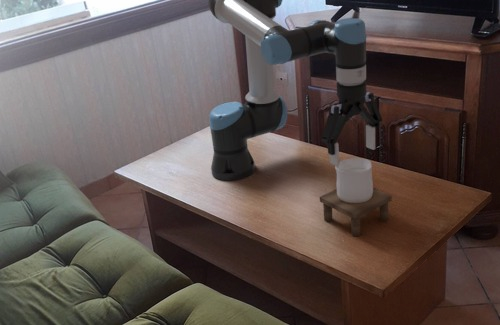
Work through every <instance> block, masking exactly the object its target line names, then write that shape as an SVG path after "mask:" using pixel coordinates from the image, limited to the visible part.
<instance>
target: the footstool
mask: <svg viewBox="0 0 500 325" xmlns="http://www.w3.org/2000/svg"><path fill="white" fill-rule="evenodd" d="M392 199H393V198H392V195H391V194H388V193H386V192H384V191H381V190H379V189H377V188H375V187H373V194H372V197H371V199H369V200H368V201H366V202H362V203H347V202H344V201H342V200H340V199H339V198H338V196H337V188H336V189H333V190H331V191H329V192H327V193H325V194H322V195H321V196H319V202H320V203H322V207H323V221H324V222H326V223H330V222H332V221H333V219H334V218H333V209H334V210H336V211H338V212H340V213H341V214H344V215H346V216H347V217H349V218H350V224H351V225H350V226H351V227H350V228H351V236H352V237H356V238H357V237H360V236H361V217H363V216H365V215H366V214H368V213H371V212H373V211H375V210H376V209H378V208H379V221H381V222H388V221H389V203H390V202H391V201H392Z"/></svg>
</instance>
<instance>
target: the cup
mask: <svg viewBox="0 0 500 325" xmlns="http://www.w3.org/2000/svg"><path fill="white" fill-rule="evenodd" d="M334 168H335V172H336V189H337V196H338V198H339V199H340V200H342V201H344V202H347V203H362V202H366V201H368V200H369V199H371V197H372V194H373V188H374V184H373V183H374V182H373V172H372V171H373V169H372V168H373V164H372V162H371V161H370V160H368V159H366V158H364V157H363V158H362V157H351V158H345V159H342V160H339V166H335V165H334Z"/></svg>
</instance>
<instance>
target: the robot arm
mask: <svg viewBox="0 0 500 325" xmlns="http://www.w3.org/2000/svg"><path fill="white" fill-rule="evenodd" d="M282 2H283V0H207V3H208V7H209V11H210V12H211V14H212V15H213V17H214V18H216V19H217V20H218V21H219V22H221V23H223V24H229V25H230V26H232V27H234V28H235V29H236V30H238V31H239V32H240V33H242V35H244V36H245V37H244V38H245V47H246V48H245V50H246V51H245V52H246V62H247V63H246V64H247V77H248V78H247V79H248V89H249V91H248V92H247V94H245V97H244V101H245V103H244V104H242V103H241V102H239V101H231V102H225V103H222V104H219V105H217V106H216V107H214V108H212V110H211V111H210V113H209V116H208V117H209V129H210V134H211V141H212V146H213V147H212V148H213V156H212V159H211V160H212V161H211V168H210V170H211V175H212V177H213V178H215V179H216V180H217V179H218V180H222V181H237V180H241V179H244V178H246V177H249V176H250V175H252V174H253V173H254V172H255V171H256V164H255V160H254V158H253V156H252V155H251V152H250V150H249V148H248V146H249V145H248V140H249V139H253V138H257V137H259V136H263V135H265V134H268V133H270V134H271V133H274V132H276V131H277V130H280V129H282V128H283V127H284V126H285V124H286V122H287V119H288V107H287V105H286V102H285V100H284V98H283V97H282V96H280V93H279V92H278V91H277V90H275V89H276V88H275V67H274V66H275V65H283V64H287V63H289V62H293V61H296V60H300V59H303V58H309V57H312V56H316V55H319V54H321V55H322V54H324V53H326V54H327V53H328V54H331V55H333V56H335V76H336V79H335V81H336V96H337V98H338V104H335V105H334V104H330V105H329V107H328V115H327V118H326V120H325V122H326V123H325V125H324V129H323V131H322V134H321V138H320V142H321V143H322V142H323V143H325V144H327V154H328V155H329V164H331V165H332V166H334V167H335V166H339V162H340V157H339V156H340V152H339V151H340V150H339V142H338V139H339V138H340V134H341V133H342V131H343V129H344V127H345V125H346V123H347V122H348V121H349V120H350V119H351V118H353V117H355V116H358V115H359V116H361V117H362V119H363V120H364V121H366V123H367V124H366V125H365V147H366V148H368V149H370V150H373V151H374V150H376V137H377V128H379V127H380V126H381V125H380V123H382V121H383V118H382V115H381V113H380V110H379V108H378V106H377V104H376V102H375V97H374V96H375V94H374V93H373V92H369V91H367V81H366V80H367V32H366V23H365V21H364V20H363V19H360V18H353V17H352V18H351V17H350V18H349V17H348V18H342V19H338V20H337V21H336V22H335V23H334V22H331V21H328V20H323V19H322V20H321V19H316V20H313V21H311V22H310V23H309V24H308V25H307V26H305V27H299V28H295V29H294V28H293V29H290V30H289V29H287V28H285V27H283V25H281V24H279V23H277V22H276V20H274V19H275V17H276V16H277V13H276V12H277V10H276V9H277V8H279V7H280V6H282ZM365 105H366V106H365ZM366 107H367V108H366Z"/></svg>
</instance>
